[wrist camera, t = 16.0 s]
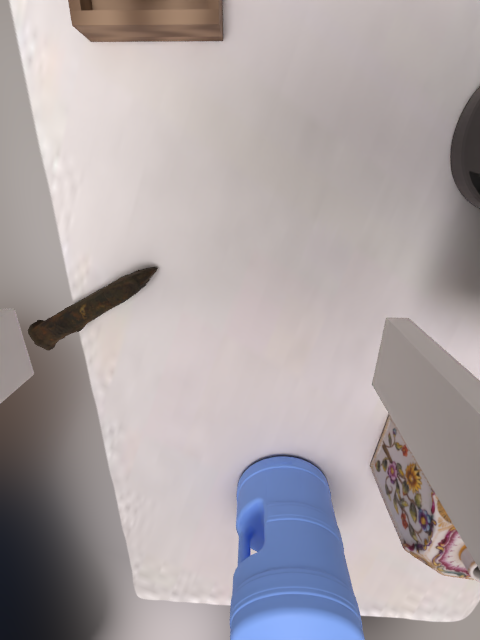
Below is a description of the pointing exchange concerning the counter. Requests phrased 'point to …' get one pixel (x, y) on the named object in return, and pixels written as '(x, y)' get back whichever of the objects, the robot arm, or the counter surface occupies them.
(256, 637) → the water jug
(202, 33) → the tray
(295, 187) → the counter surface
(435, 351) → the robot arm
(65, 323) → the hand tool
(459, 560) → the decorative jar
